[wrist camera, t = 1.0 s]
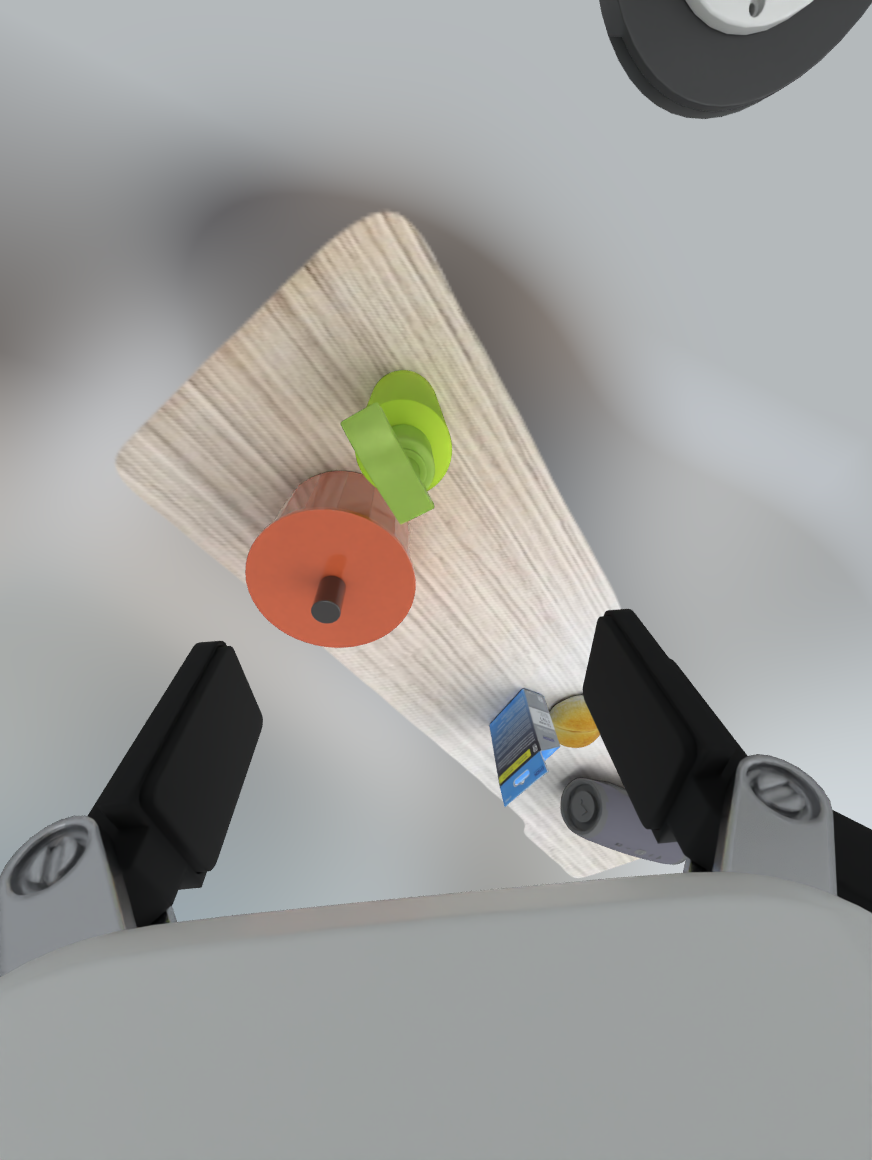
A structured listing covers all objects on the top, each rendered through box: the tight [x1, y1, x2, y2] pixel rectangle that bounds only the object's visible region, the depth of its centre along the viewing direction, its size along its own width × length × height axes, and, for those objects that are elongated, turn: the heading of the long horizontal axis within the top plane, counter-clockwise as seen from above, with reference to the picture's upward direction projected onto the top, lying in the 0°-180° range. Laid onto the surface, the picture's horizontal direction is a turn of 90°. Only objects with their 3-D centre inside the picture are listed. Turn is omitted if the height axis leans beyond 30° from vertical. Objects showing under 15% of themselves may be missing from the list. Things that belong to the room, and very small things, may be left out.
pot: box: [274, 471, 410, 557], centre depth 38 cm, size 13×13×10 cm
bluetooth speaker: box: [561, 778, 686, 864], centre depth 69 cm, size 23×9×10 cm, turn 55°
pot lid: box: [245, 507, 416, 648], centre depth 33 cm, size 14×14×5 cm
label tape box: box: [490, 689, 560, 807], centre depth 54 cm, size 9×4×12 cm, turn 151°
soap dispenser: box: [341, 370, 452, 524], centre depth 27 cm, size 6×7×20 cm
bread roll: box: [549, 695, 600, 748], centre depth 59 cm, size 8×9×4 cm
